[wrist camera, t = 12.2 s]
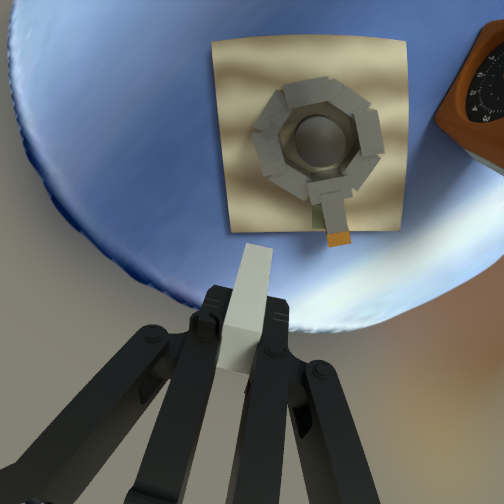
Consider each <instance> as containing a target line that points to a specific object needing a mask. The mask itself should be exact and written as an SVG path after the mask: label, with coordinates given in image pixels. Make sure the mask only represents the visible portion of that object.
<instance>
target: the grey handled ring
mask: <svg viewBox="0 0 504 504" xmlns="http://www.w3.org/2000/svg"><path fill="white" fill-rule="evenodd" d="M282 88H283V92H284V93H283V92H281V91H279V90H278V89H276V90H275V92H274V93H273V95H272V97H271V98H270V100H269V101H268V103H267V105H266V106H265V108H264V110H263V111H262V113H261V115H260V116H259V118H258V120H257V121H256V123H255V125H254V126H253V127H255V128H256V130H255V131H254V132H253V133H252V134H251V135H252V138H253V142H254V145H255V149H256V152H257V156H258V159H259V163H260V166H261V170H262V173H263V176H268V175H269V178H268V180H269V181H271V182H273V183H275V184H276V185H278V186H280V187H281V188H283V189H285V190H286V191H288V192H290V193H291V194H293V195H295V196H296V197H298V198H300V199H301V200H303V201H305V200H306V199H307V197H308V196H309V197H310V201H311V205H315V204H320V203H321V205H322V210H323V216H324V225H325V230H326V236H327V241H328V246H329V247H334V246H340V245H345V244H350V243H351V239H350V232H349V228H348V225H347V218H346V212H345V206H344V200H343V199H347V198H353V194H352V188H353V189H354V190H356V191H358V190H359V189H360V187H361V186H362V184H363V183H364V182H365V180H366V179H367V178H368V176H369V175H370V173H371V172H372V171H373V169H374V168H375V166H376V165H377V164H378V162H379V161H380V159H381V157H379V156H378V155H377V154H384V153H385V150H384V144H383V138H382V132H381V127H380V121H379V116H378V111H377V110H375V109H372V108H369V107H370V105H371V103H370V102H369V101H367V100H366V99H364V98H363V97H362V96H360V95H359V94H357V93H356V92H354V91H353V90H352V89H350V88H349V87H347V86H346V85H344V84H343V83H341V82H339V81H338V80H336V79H335V78H331V79H330V80H329V79H328V76H325V77H319V78H314V79H309V80H304V81H299V82H294V83H289V84H285V85H282ZM325 101H326V102H328V103H329V104H331V105H333V106H334V107H336V108H337V109H339V110H340V111H342V112H343V113H345V114H346V115H347V116H349V120H350V125H351V130H352V135H353V140H354V146H353V147H352V149H351V150H350V151H349V153H348V154H347V156H346V157H345V159H344V160H343V162H342V163H341V164H340V166H339V167H337V168H332V169H327V170H321V171H316V172H311V173H310V172H309V171H307V170H306V169H304V168H302V167H301V166H299V165H298V164H296V163H294V162H293V161H291V160H289V159H288V158H286V156H285V152H284V148H283V144H282V140H281V136H280V133H279V131H280V129H281V127H282V126H283V124H284V123H285V121H286V120H287V118H288V116H289V115H290V113H291V112H292V110H293V108H294V107H299V106H304V105H309V104H314V103H319V102H325Z"/></svg>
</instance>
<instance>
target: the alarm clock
mask: <svg viewBox="0 0 504 504" xmlns="http://www.w3.org/2000/svg"><path fill="white" fill-rule="evenodd" d="M434 119H435V121H436V123H437V125H438V126H439V127H440V128H441V129H442V130H443V131H444V132H446V133H447V134H448V135H449V136H450V137H451V138H452V139H453V140H454V141H456V142H457V143H458V144H459V145H460V146H461V147H462V148H463V149H464V150H465V151H466V152H467V153H468V154H469V155H470V156H471V157H472V158H473V159H474V160H476V161H478V162H480V163H482V164H483V165H485V166H487V167H489V168H491V169H492V170H494V171H496V172H497V173H499V174H501V175H502V176H504V19H502V20H496V21H491V22H489V23H487V24H486V25H485V26H484V27H483V29H482V31H481V33H480V35H479V37H478V39H477V41H476V43H475V45H474V46H473V48H472V50H471V52H470V54H469V56H468V58H467V60H466V61H465V63H464V65H463V67H462V69H461V71H460V72H459V74H458V76H457V78H456V80H455V81H454V83H453V85H452V87H451V88H450V90H449V92H448V94H447V95H446V97H445V99H444V100H443V102H442V104H441V105H440V107H439V109H438V110H437V112H436V115H435V118H434Z"/></svg>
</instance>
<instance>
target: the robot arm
mask: <svg viewBox="0 0 504 504" xmlns="http://www.w3.org/2000/svg"><path fill="white" fill-rule="evenodd" d="M272 253H273V249H272V248H267V247H262V246H258V245H253V244H249V243H246V246H245V250H244V253H243V257H242V260H241V264H240V267H239V271H238V274H237V278H236V281H235V285H234V288H233V289H231V288H226V287H222V286H218V285H213V286H212V287H211V288H210V289H209V290H208V291H207V293H206V296H205V299H204V301H203V304H202V306H201V309H200V311H197V312H195V313H193V314H192V316H191V317H190V324H189V331H187V332H184V333H179V334H168V332H167V330H166V329H164V328H163V327H162V326H159V325H146V326H143V327H142V328H140V329H139V330H138V331H137V332H136V333H135V334H134V335H133V336H132V337H131V338H130V339H129V340H128V342H127V343H126V344H125V345H124V346H123V347H122V348H121V349H120V350H119V351H118V352H117V353H116V354H115V355H114V356H113V357H112V358H111V359H110V360H109V361H108V362H107V363H106V365H105V366H104V367H103V368H102V369H101V370H100V371H99V372H98V373H97V374H96V375H95V376H94V377H93V378H92V379H91V380H90V381H89V382H88V384H87V385H86V386H85V387H84V388H83V389H82V390H81V391H80V392H79V393H78V394H77V395H76V396H75V397H74V399H73V400H72V401H71V402H70V403H69V404H68V405H67V406H66V407H65V408H64V409H63V410H62V412H61V413H60V414H59V415H58V416H57V417H56V418H55V419H54V420H53V421H52V423H50V425H49V426H48V427H47V428H46V429H45V430H44V431H43V432H42V433H41V435H40V436H39V437H38V438H37V439H36V440H35V441H34V442H33V443H32V445H31V446H30V447H29V448H28V449H27V450H26V451H25V452H24V454H23V455H22V456H21V457H20V458H19V459H18V461H16V463H13V464H11V465H9V466H7V467H5V468H3V469H1V470H0V504H73V503H74V502H75V501H76V500H77V499H78V497H79V496H80V495H81V493H82V492H83V491H84V490H85V488H86V487H87V486H88V485H89V483H90V482H91V481H92V479H93V478H94V477H95V475H96V474H97V473H98V472H99V470H100V469H101V468H102V466H103V465H104V464H105V462H106V461H107V460H108V458H109V457H110V456H111V455H112V453H113V452H114V451H115V449H116V448H117V447H118V445H119V444H120V443H121V441H122V440H123V439H124V437H125V436H126V435H127V434H128V432H129V431H130V430H131V428H132V427H133V426H134V424H135V423H136V422H137V420H138V419H139V418H140V416H141V415H142V414H143V412H144V411H145V410H146V408H147V407H148V406H149V405H150V403H151V402H152V400H153V399H154V398H155V397H156V395H157V394H158V393H159V391H160V390H161V389H162V387H163V386H164V385H165V383H166V382H167V381H168V379H171V381H170V384H169V387H168V390H167V392H166V395H165V398H164V400H163V403H162V406H161V408H160V411H159V414H158V417H157V420H156V422H155V425H154V428H153V431H152V434H151V437H150V439H149V443H148V445H147V448H146V451H145V454H144V457H143V460H142V463H141V466H140V469H139V472H138V474H137V478H136V480H135V483H134V485H133V487H132V488H131V489H130V490H129V491H128V493H127V495H126V498H125V500H124V504H182V502H183V498H184V494H185V490H186V486H187V482H188V478H189V474H190V470H191V466H192V462H193V458H194V454H195V451H196V446H197V443H198V439H199V435H200V430H201V426H202V423H203V419H204V415H205V411H206V407H207V403H208V399H209V395H210V392H211V388H212V384H213V380H214V376H215V369H216V367H219V368H223V369H227V370H232V371H237V372H241V373H246V374H250V375H249V379H248V383H247V386H246V389H245V392H244V393H245V399H244V404H243V410H242V416H241V421H240V427H239V433H238V438H237V444H236V449H235V455H234V461H233V466H232V471H231V476H230V482H229V487H228V493H227V498H226V503H225V504H279V496H280V486H281V476H282V464H283V453H284V441H285V427H286V414H287V404H288V408H289V412H290V417H291V422H292V426H293V431H294V435H295V440H296V444H297V449H298V454H299V458H300V462H301V467H302V472H303V476H304V481H305V485H306V490H307V494H308V499H309V503H310V504H380V501H379V497H378V494H377V491H376V488H375V485H374V481H373V478H372V475H371V472H370V469H369V466H368V463H367V460H366V457H365V454H364V451H363V448H362V445H361V442H360V439H359V436H358V433H357V430H356V427H355V424H354V421H353V418H352V415H351V412H350V409H349V406H348V404H347V401H346V398H345V395H344V392H343V390H342V387H341V384H340V381H339V379H338V376H337V373H336V371H335V369H334V367H333V366H332V365H331V364H329V363H328V362H325V361H323V360H313V361H311V362H310V363H306V362H303V361H301V360H299V359H298V358H296V357H295V356H294V355H292V353H291V352H290V351H289V348H288V327H289V323H288V322H289V306H288V304H287V302H286V300H284V299H280V298H275V297H270V296H267V292H268V284H269V276H270V269H271V261H272Z"/></svg>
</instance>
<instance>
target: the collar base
mask: <svg viewBox="0 0 504 504" xmlns="http://www.w3.org/2000/svg"><path fill="white" fill-rule="evenodd" d="M211 46H212V57H213V68H214V78H215V88H216V98H217V108H218V118H219V128H220V137H221V146H222V156H223V165H224V174H225V183H226V191H227V200H228V209H229V217H230V226H231V233H237V232H296V231H326V230H325V225H324V216H323V210H322V205H321V203H320V204H315V205H311V201H310V197H309V196H308V197H307V199H306V200H305V201H303V200H301V199H300V198H298V197H296V196H295V195H293V194H291V193H290V192H288V191H286V190H285V189H283V188H281V187H280V186H278V185H276V184H275V183H273V182H271V181H269V180H268V178H269V175H268V176H263V173H262V170H261V166H260V163H259V159H258V156H257V152H256V149H255V145H254V142H253V138H252V135H251V134H252V133H253V132H254V131H255V130H256V128H255V127H253V126H254V125H255V123H256V121H257V120H258V118H259V116H260V115H261V113H262V111H263V110H264V108H265V106H266V105H267V103H268V101H269V100H270V98H271V97H272V95H273V93H274V92H275V90H276V89H278V90H279V91H281V92H283V88H282V85H285V84H289V83H294V82H299V81H304V80H309V79H314V78H319V77H325V76H328V79H329V80H330V79H331V78H335V79H336V80H338V81H339V82H341V83H343V84H344V85H346V86H347V87H349V88H350V89H352V90H353V91H354V92H356V93H357V94H359V95H360V96H362V97H363V98H364V99H366V100H367V101H369V102H370V103H371V105H370V107H369V108H372V109H375V110H377V111H378V116H379V121H380V127H381V132H382V138H383V144H384V150H385V153H384V154H377V155H378V156H379V157H381V159H380V161H379V162H378V164H377V165H376V166H375V168H374V169H373V171H372V172H371V173H370V175H369V176H368V178H367V179H366V180H365V182H364V183H363V184H362V186H361V187H360V189H359V190H358V191H356V190H354V189H353V188H352V194H353V198H347V199H343V200H344V206H345V212H346V218H347V225H348V228H349V231H400V227H401V219H402V210H403V201H404V191H405V180H406V167H407V149H408V112H409V102H408V66H407V50H406V41H399V40H392V39H383V38H374V37H362V36H347V35H316V34H305V35H274V36H259V37H247V38H237V39H229V40H221V41H214V42H211ZM283 93H284V92H283ZM279 133H280V136H281V140H282V144H283V148H284V152H285V156H286V158H288V159H289V160H291V161H293V162H294V163H296V164H298V165H299V166H301V167H302V168H304V169H306V170H307V171H309V172H310V173H311V172H316V171H321V170H327V169H332V168H337V167H339V166H340V164H341V163H342V162H343V160H344V159H345V157H346V156H347V154H348V153H349V151H350V150H351V149H352V147H353V146H354V140H353V135H352V130H351V125H350V120H349V116H347V115H346V114H345V113H343V112H342V111H340V110H339V109H337V108H336V107H334V106H333V105H331V104H329V103H328V102H326V101H325V102H319V103H314V104H309V105H304V106H299V107H294V108H293V110H292V112H291V113H290V115H289V116H288V118H287V120H286V121H285V123H284V124H283V126H282V127H281V129H280V131H279Z"/></svg>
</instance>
